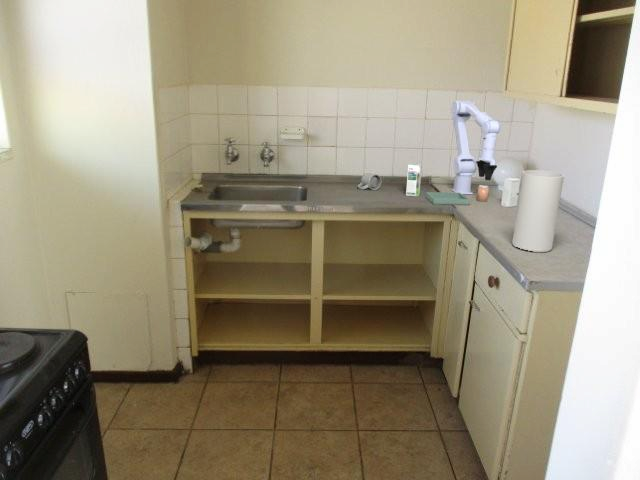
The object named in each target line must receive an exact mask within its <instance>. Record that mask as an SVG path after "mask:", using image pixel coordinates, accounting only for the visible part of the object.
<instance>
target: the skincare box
mask: <svg viewBox="0 0 640 480" xmlns="http://www.w3.org/2000/svg"><path fill="white" fill-rule="evenodd" d="M520 185H521V178H517V177H507V178H506V177H505V178H504V180H503V187H502V193H501V194H502V196H501V204H500V205H501V206H502V207H505V208H512V207H517V206H518V199H519V192H520Z"/></svg>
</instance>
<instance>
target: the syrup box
mask: <svg viewBox="0 0 640 480" xmlns="http://www.w3.org/2000/svg"><path fill="white" fill-rule="evenodd" d="M422 167H423V164H417V163H416V164H415V163H409V164H408V165H407V175H406V191H405V196H409V197H419V195H420V193H421V192H420V190H421V181H422V170H423V169H422Z"/></svg>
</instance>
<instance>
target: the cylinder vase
mask: <svg viewBox="0 0 640 480" xmlns="http://www.w3.org/2000/svg"><path fill="white" fill-rule="evenodd" d="M521 173H522V174H521V178H520V187H519V195H518V202H517V206H516V215H515V221H514V229H513V235H512V242H511V243H512V245H513V246H514V247H515V248H516V247H518V248H520V249H519V250H521V249H524V250H528V251H527V252H529V251H533V252H532V253H547V252H550V251H551V250H552V248H553V244H554V237H555V231H556V227H557V226H556V225H557V220H558V215H559V208H560V203H561V197H562V196H561V195H562V192H563V191H562V190H563V185H564V184H563V183H564V180H565V175H564V174H563V173H560V172H556V171H551V170H550V171H548V170H541V169H540V170H536V169H528V170H523V171H522V172H521ZM518 248H517V249H518ZM524 250H523V251H524Z"/></svg>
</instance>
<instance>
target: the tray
mask: <svg viewBox="0 0 640 480" xmlns="http://www.w3.org/2000/svg"><path fill="white" fill-rule="evenodd" d="M425 198H426V200H428V201H429V202H430V203H431V204H432V205H435V206H437V205H438V206H470V201H471V199H470V198H468V197H467V196H465V194H461V193H455V192H446V191H445V192H437V191H436V192H434V191H432V192H431V191H427V192H425Z"/></svg>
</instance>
